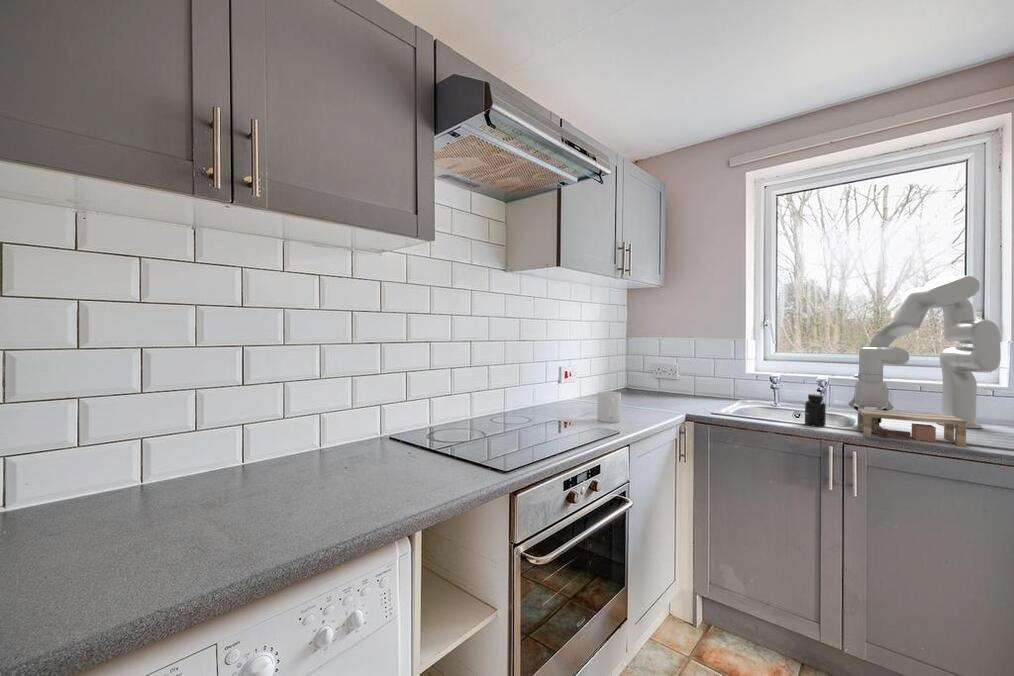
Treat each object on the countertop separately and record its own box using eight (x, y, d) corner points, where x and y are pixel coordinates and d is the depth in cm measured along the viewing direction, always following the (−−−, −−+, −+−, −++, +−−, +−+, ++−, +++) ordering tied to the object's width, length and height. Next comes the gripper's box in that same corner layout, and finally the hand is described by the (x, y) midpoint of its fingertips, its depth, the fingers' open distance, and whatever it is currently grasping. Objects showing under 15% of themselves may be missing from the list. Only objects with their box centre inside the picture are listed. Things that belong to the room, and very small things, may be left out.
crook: (862, 423, 176) (862, 409, 176) (891, 426, 172) (891, 411, 172) (876, 436, 154) (876, 419, 154) (910, 440, 149) (910, 422, 149)
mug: (614, 418, 185) (614, 390, 185) (628, 424, 173) (628, 394, 173) (593, 419, 183) (593, 391, 182) (606, 425, 171) (606, 395, 171)
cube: (911, 437, 154) (911, 423, 154) (930, 439, 152) (930, 424, 152) (915, 440, 150) (916, 425, 150) (935, 442, 147) (935, 427, 147)
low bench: (857, 430, 165) (857, 408, 165) (951, 438, 152) (952, 415, 152) (863, 436, 155) (864, 413, 154) (965, 446, 141) (966, 421, 141)
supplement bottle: (800, 423, 176) (801, 394, 176) (811, 422, 179) (811, 393, 179) (818, 427, 170) (819, 396, 169) (829, 425, 172) (829, 395, 172)
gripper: (845, 377, 174) (845, 423, 175) (900, 380, 166) (900, 428, 166) (843, 376, 181) (842, 420, 181) (895, 378, 172) (895, 424, 173)
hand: (870, 423), depth 174 cm, fingers closed on crook, 4 cm apart
